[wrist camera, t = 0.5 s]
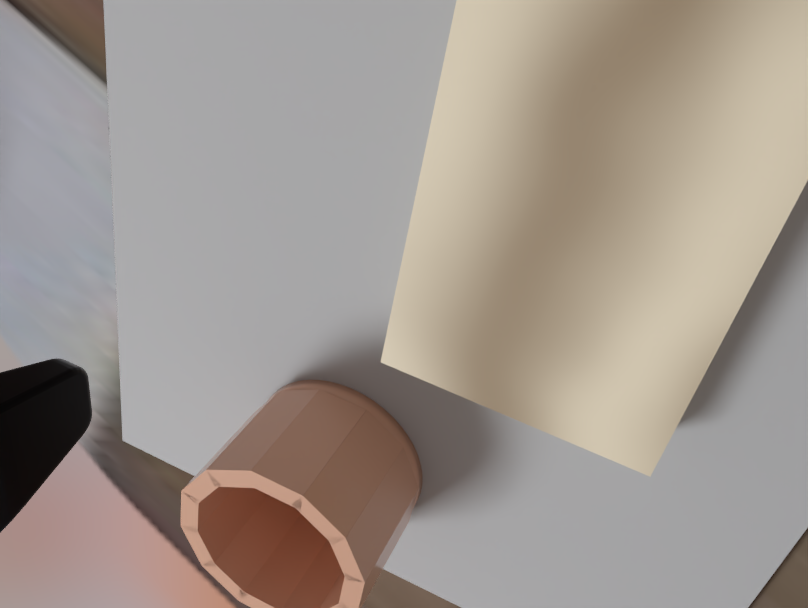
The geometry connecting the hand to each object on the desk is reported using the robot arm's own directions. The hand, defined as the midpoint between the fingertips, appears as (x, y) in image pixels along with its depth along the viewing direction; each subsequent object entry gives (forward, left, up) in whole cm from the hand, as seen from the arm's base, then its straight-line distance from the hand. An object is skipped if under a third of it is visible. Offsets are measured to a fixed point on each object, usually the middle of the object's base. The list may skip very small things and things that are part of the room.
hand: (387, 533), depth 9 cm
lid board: (0, 0, -11) cm, 11 cm away
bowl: (+5, +12, -11) cm, 17 cm away
